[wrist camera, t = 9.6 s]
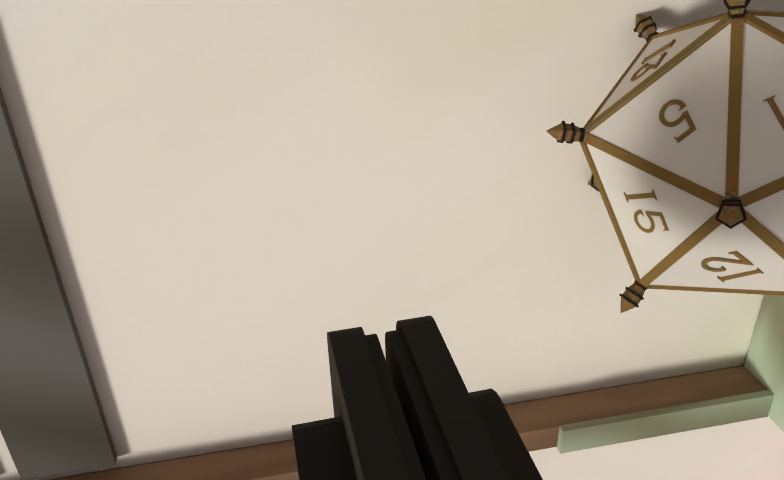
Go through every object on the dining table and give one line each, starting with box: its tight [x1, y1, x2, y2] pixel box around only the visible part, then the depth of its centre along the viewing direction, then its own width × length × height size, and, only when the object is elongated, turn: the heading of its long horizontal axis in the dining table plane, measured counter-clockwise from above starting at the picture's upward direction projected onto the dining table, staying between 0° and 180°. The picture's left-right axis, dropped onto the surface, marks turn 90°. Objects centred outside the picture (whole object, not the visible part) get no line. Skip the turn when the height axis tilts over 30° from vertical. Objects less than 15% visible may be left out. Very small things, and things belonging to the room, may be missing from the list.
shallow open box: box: [0, 90, 784, 480], centre depth 18 cm, size 22×33×4 cm
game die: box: [547, 0, 784, 313], centre depth 18 cm, size 9×8×10 cm
